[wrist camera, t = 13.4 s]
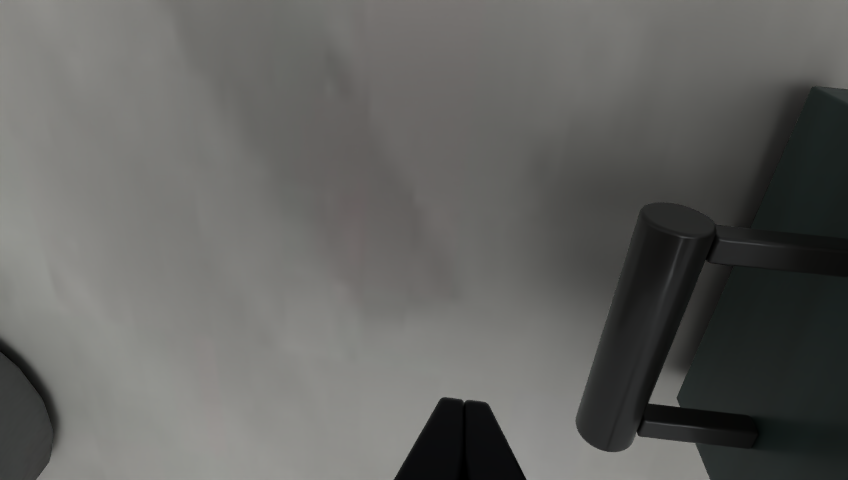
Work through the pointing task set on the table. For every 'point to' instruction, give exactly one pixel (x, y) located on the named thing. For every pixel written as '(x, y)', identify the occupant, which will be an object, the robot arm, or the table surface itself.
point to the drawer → (741, 322)
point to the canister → (22, 426)
